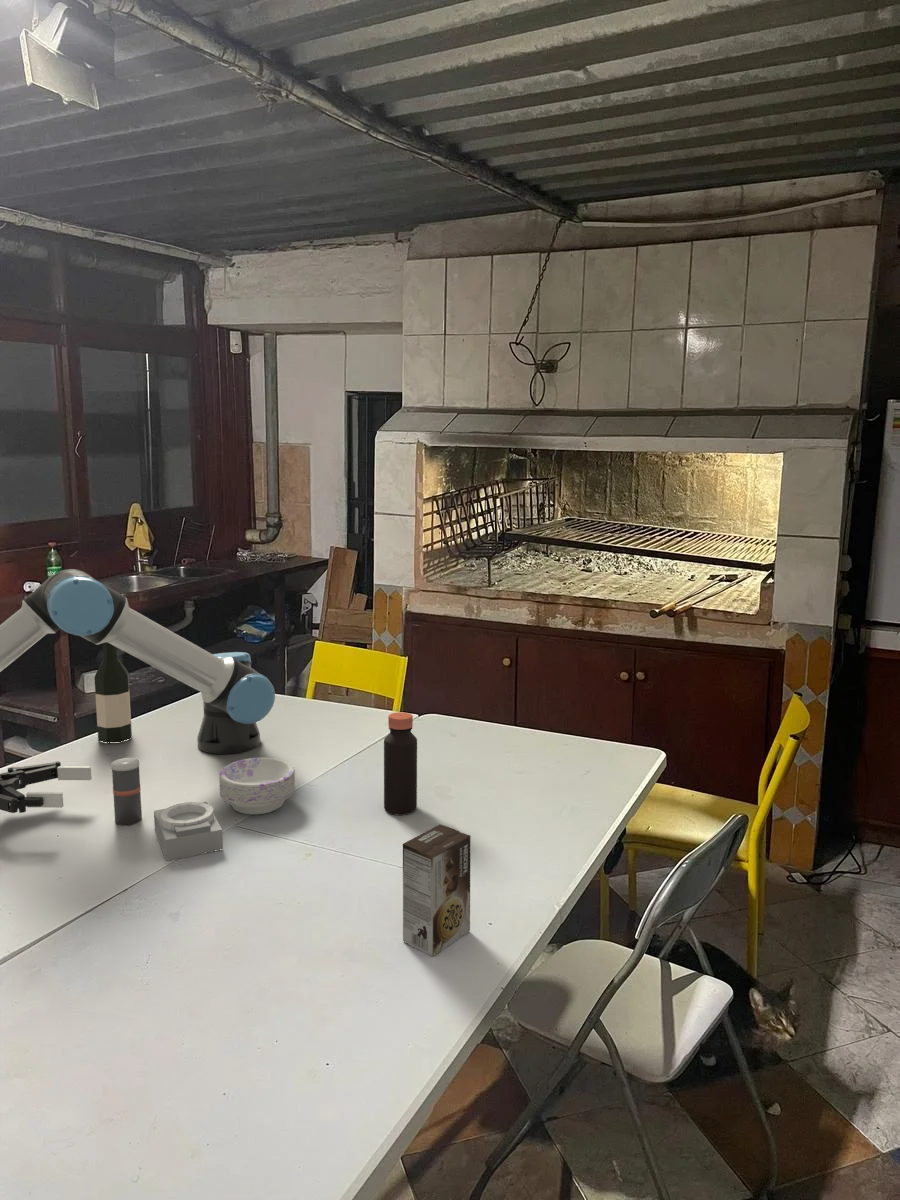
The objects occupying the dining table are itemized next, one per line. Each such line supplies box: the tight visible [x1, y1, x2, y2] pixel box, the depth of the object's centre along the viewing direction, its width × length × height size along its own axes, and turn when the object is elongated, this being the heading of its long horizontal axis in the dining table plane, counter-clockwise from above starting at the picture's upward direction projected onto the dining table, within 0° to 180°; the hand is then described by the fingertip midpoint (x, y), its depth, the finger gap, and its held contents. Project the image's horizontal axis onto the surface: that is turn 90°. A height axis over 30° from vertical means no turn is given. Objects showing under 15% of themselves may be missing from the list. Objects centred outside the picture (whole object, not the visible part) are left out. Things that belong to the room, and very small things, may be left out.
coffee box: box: [402, 823, 472, 957], centre depth 132 cm, size 9×6×16 cm
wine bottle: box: [94, 642, 133, 743], centre depth 218 cm, size 8×8×30 cm
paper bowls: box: [218, 756, 296, 816], centre depth 180 cm, size 15×15×8 cm
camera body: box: [153, 801, 224, 861], centre depth 165 cm, size 10×14×6 cm
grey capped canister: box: [110, 757, 143, 826], centre depth 172 cm, size 5×5×12 cm
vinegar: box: [383, 711, 418, 816], centre depth 178 cm, size 7×7×20 cm
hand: (77, 786), depth 172 cm, fingers open, 13 cm apart
